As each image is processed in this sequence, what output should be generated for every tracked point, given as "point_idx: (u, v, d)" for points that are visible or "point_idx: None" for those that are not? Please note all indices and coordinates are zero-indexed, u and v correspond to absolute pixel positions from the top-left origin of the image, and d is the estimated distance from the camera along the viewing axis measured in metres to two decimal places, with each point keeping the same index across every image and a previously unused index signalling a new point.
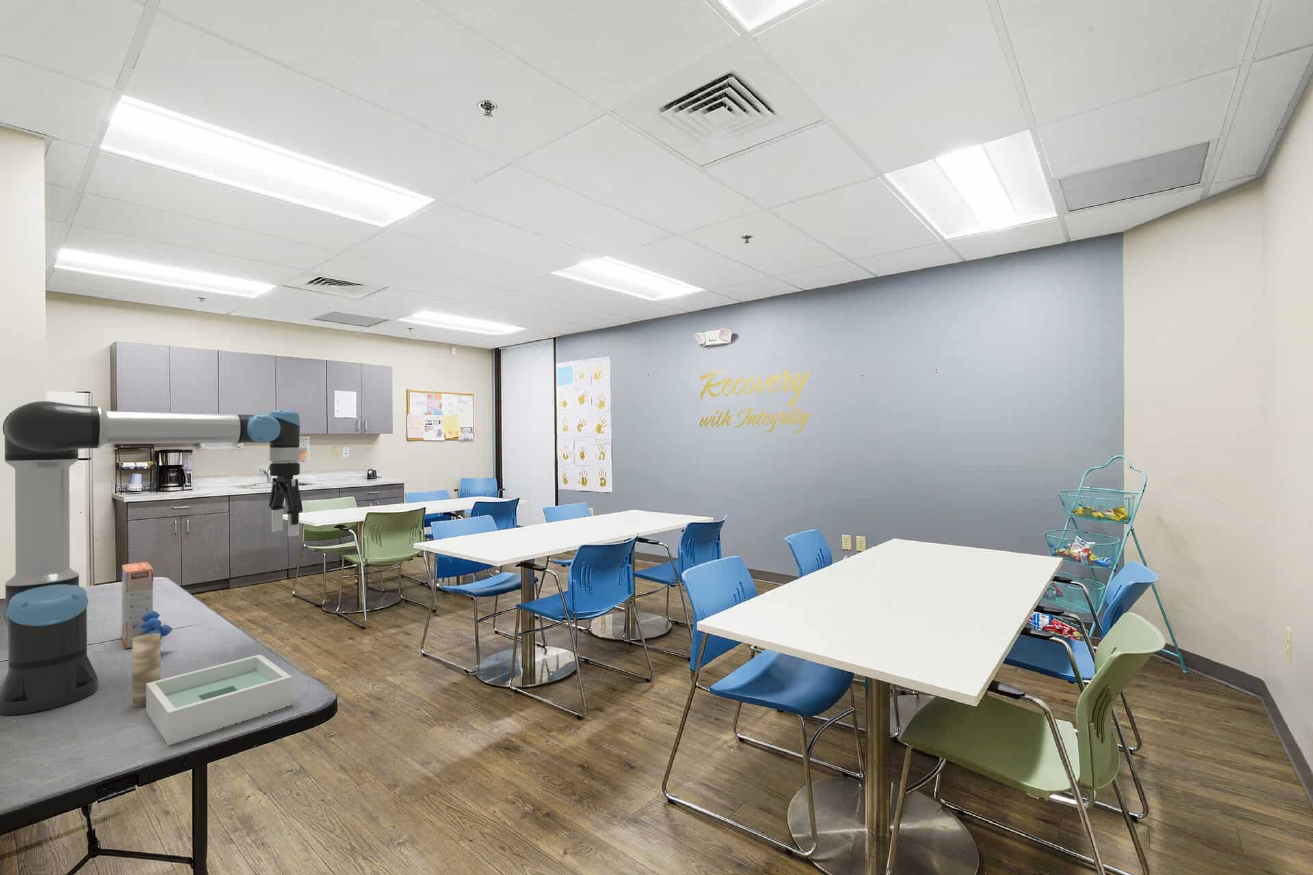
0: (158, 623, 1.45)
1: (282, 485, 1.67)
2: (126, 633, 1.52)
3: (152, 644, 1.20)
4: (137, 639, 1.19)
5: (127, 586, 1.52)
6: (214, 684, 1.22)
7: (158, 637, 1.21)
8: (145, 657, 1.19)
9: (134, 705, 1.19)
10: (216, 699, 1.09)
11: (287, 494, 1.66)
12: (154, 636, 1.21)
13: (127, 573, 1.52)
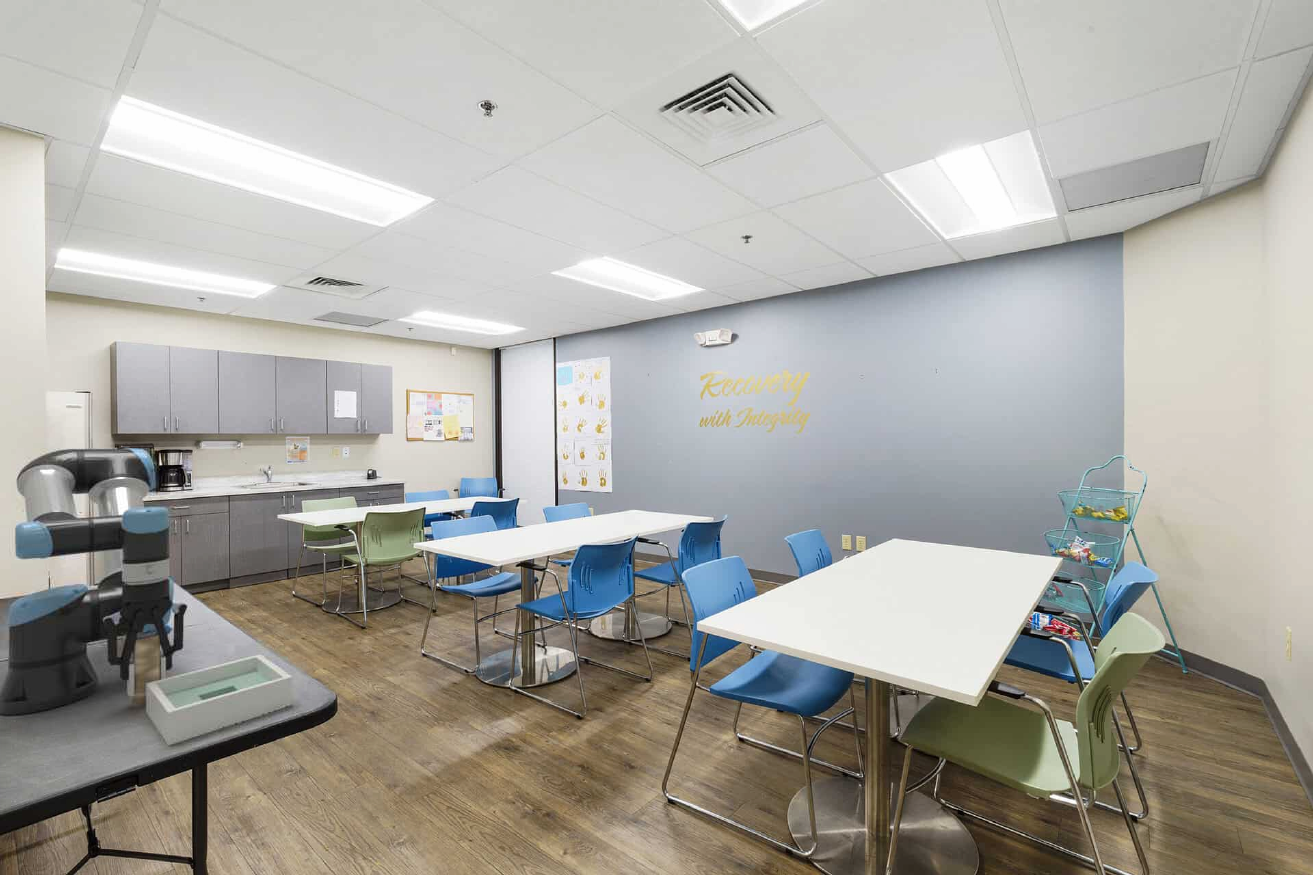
0: None
1: None
2: None
3: (152, 644, 1.20)
4: (137, 639, 1.19)
5: None
6: (214, 684, 1.22)
7: (158, 637, 1.21)
8: (145, 657, 1.19)
9: (134, 705, 1.19)
10: (216, 699, 1.09)
11: (128, 632, 1.19)
12: (154, 636, 1.21)
13: None
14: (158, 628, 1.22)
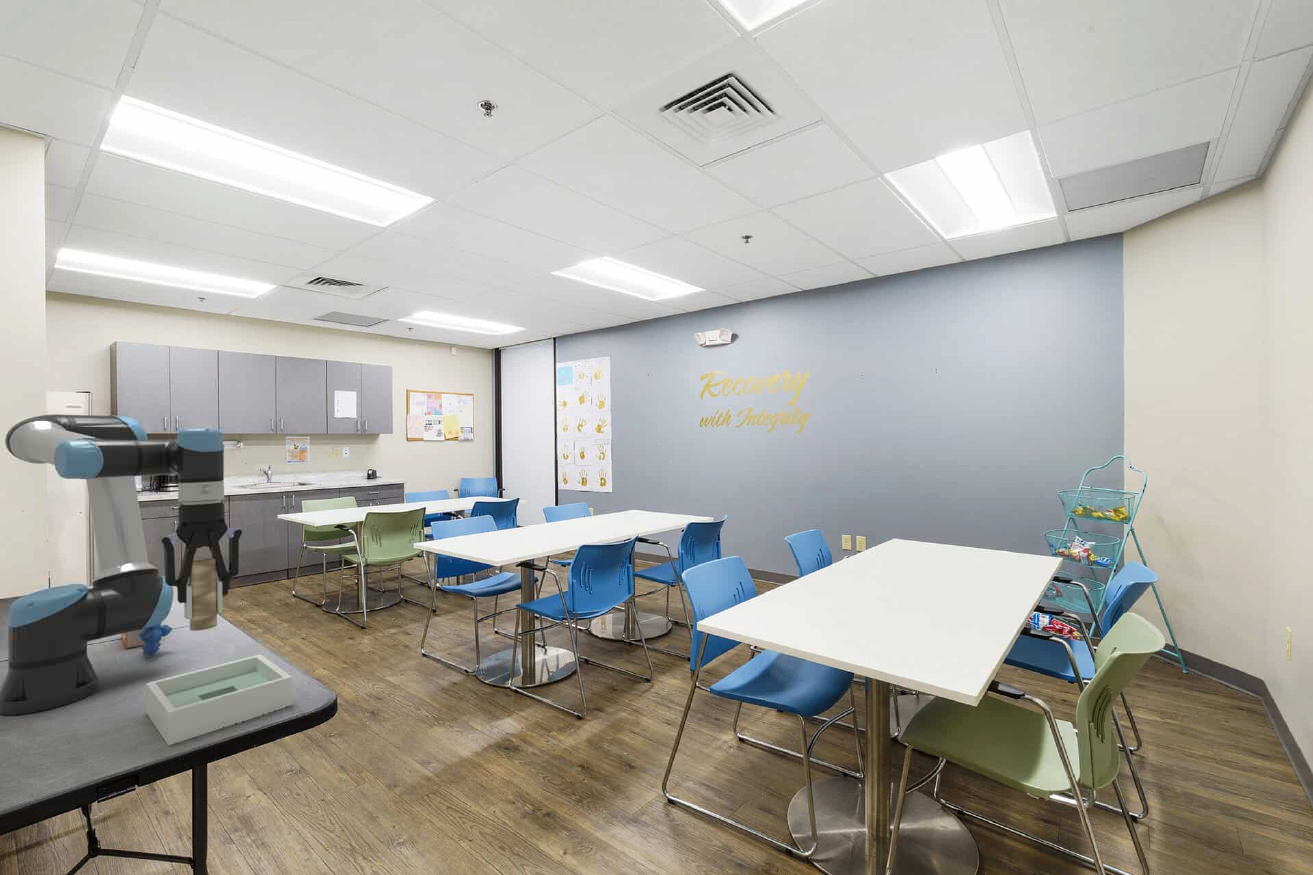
0: None
1: None
2: (126, 633, 1.52)
3: (208, 566, 1.17)
4: (194, 561, 1.17)
5: None
6: (214, 684, 1.22)
7: (214, 560, 1.19)
8: (202, 580, 1.16)
9: (192, 629, 1.16)
10: (216, 699, 1.09)
11: (184, 554, 1.17)
12: (210, 559, 1.18)
13: None
14: (214, 551, 1.19)
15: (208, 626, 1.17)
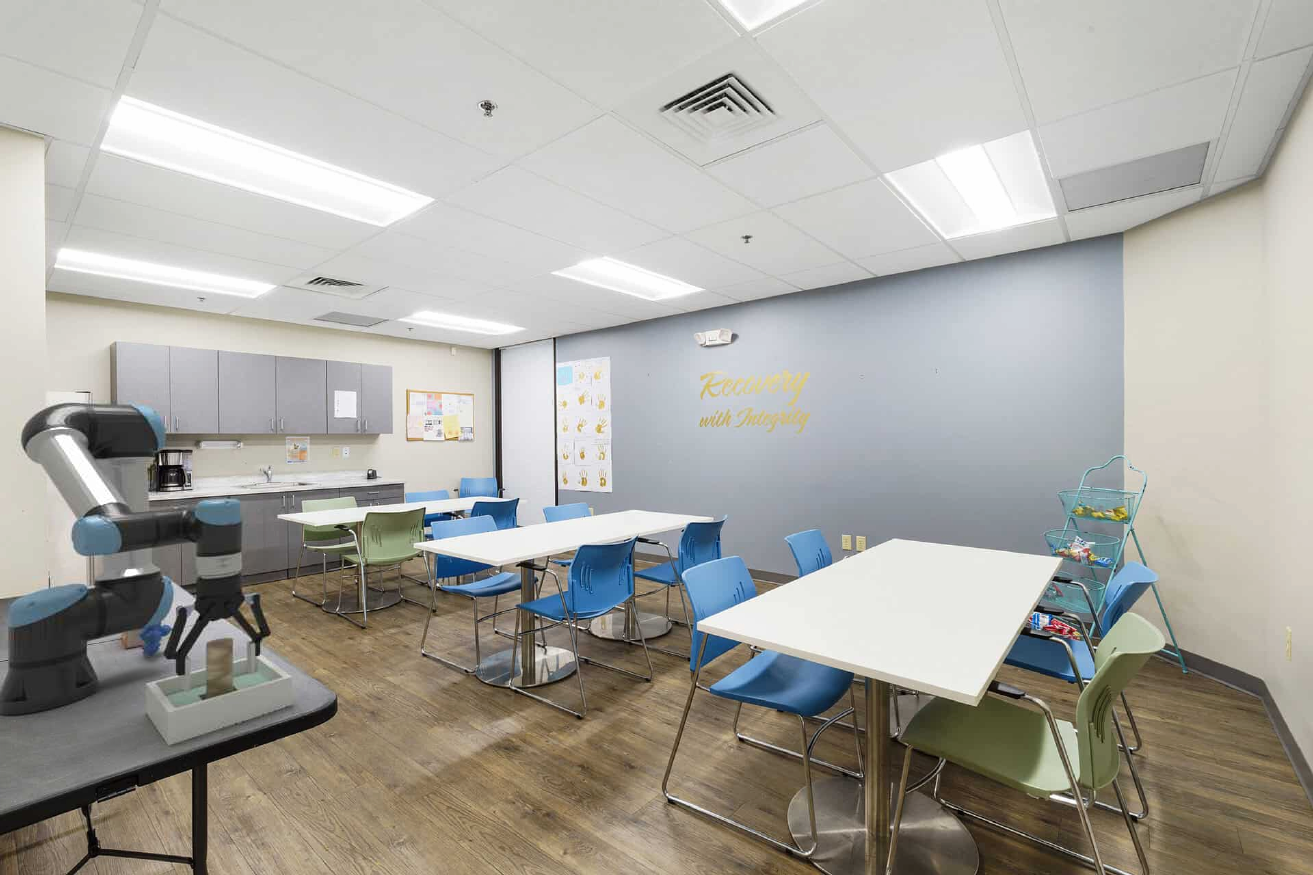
0: (158, 623, 1.45)
1: None
2: (126, 633, 1.52)
3: (226, 649, 1.17)
4: (211, 644, 1.16)
5: None
6: None
7: (231, 642, 1.18)
8: (219, 663, 1.16)
9: None
10: (216, 699, 1.09)
11: (194, 625, 1.15)
12: (227, 641, 1.18)
13: None
14: (238, 620, 1.19)
15: None
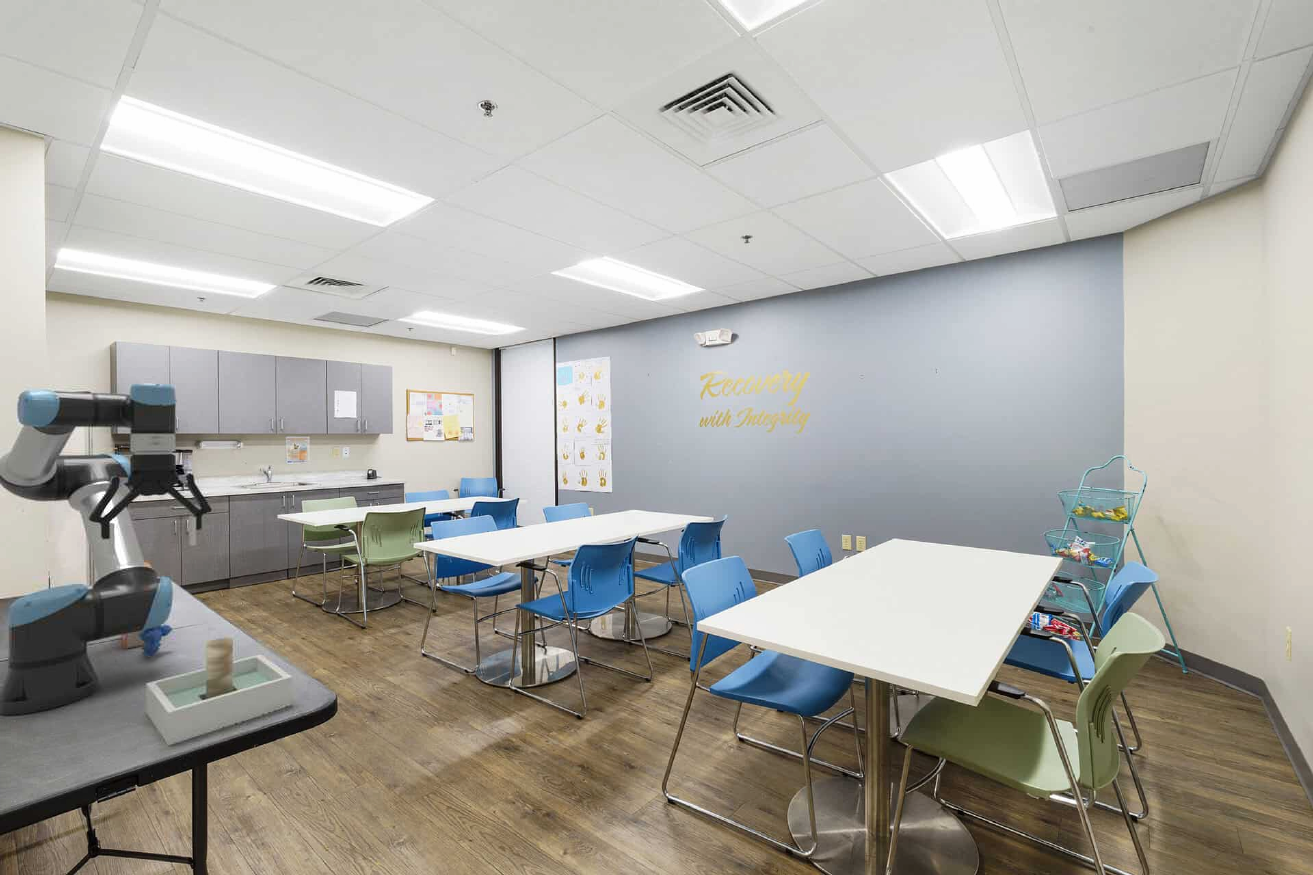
0: None
1: None
2: None
3: (226, 649, 1.17)
4: (211, 644, 1.16)
5: None
6: None
7: (231, 642, 1.18)
8: (219, 663, 1.16)
9: None
10: (216, 699, 1.09)
11: (125, 496, 1.23)
12: (227, 641, 1.18)
13: None
14: (175, 496, 1.28)
15: None
